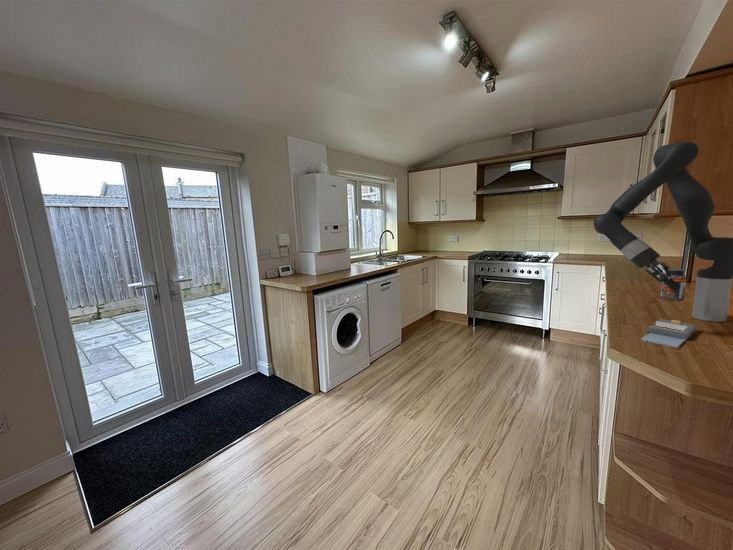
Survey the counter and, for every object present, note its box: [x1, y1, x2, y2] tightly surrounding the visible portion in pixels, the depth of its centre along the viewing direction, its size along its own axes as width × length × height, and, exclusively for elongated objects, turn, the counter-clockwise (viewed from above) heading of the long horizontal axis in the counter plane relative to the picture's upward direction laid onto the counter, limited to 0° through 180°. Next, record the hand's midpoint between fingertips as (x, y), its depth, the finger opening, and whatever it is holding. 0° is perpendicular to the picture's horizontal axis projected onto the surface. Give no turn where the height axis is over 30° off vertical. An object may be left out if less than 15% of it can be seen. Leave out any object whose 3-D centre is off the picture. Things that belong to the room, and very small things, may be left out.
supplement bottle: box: [660, 268, 687, 302], centre depth 106 cm, size 6×6×11 cm
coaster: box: [640, 333, 686, 349], centre depth 101 cm, size 9×9×1 cm
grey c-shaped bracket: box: [646, 318, 697, 341], centre depth 110 cm, size 19×10×3 cm, turn 123°
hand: (680, 287), depth 105 cm, fingers closed on supplement bottle, 6 cm apart
